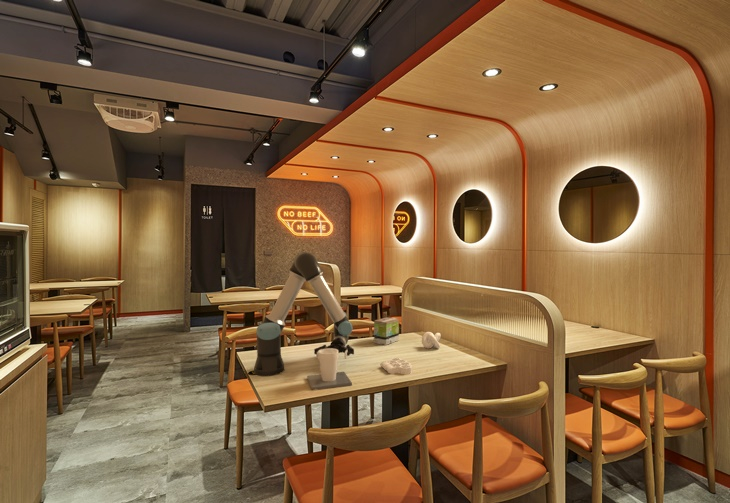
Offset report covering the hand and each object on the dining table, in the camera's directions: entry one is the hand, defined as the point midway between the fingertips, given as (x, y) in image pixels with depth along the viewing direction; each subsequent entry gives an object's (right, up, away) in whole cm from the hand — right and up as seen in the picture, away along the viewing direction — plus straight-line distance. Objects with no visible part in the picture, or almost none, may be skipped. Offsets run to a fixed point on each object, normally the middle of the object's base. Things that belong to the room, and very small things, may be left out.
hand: (331, 356), depth 185 cm
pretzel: (+57, -8, +47) cm, 74 cm away
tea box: (+30, -8, +63) cm, 70 cm away
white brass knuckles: (+33, -9, +8) cm, 35 cm away
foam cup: (0, -9, -8) cm, 12 cm away
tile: (0, -10, -8) cm, 13 cm away
